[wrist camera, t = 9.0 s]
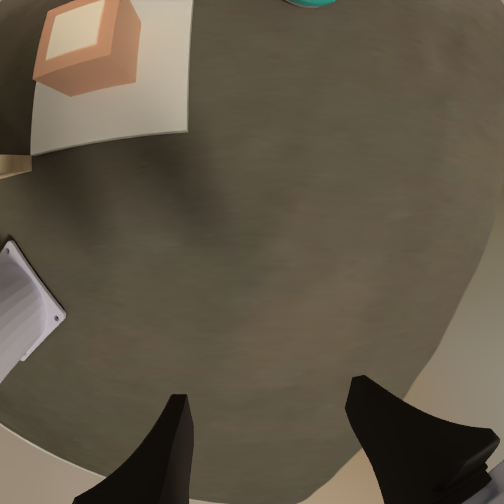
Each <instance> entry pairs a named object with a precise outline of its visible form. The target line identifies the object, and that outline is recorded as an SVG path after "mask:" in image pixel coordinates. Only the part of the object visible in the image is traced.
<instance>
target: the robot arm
mask: <svg viewBox="0 0 504 504" xmlns="http://www.w3.org/2000/svg"><path fill="white" fill-rule="evenodd" d="M8 249H9V251H8ZM56 316H57V317H58V318H59V319H58V318H57V317H56ZM65 317H66V313H65V311H64V310H63V309H62V307H61V306H60V305H59V304H58V303H57V301H56V300H55V299H54V298H53V296H52V295H51V294H50V292H49V291H48V290H47V288H46V287H45V286H44V284H43V283H42V282H41V280H40V279H39V278H38V276H37V275H36V274H35V272H34V271H33V269H32V268H31V266H30V265H29V263H28V262H27V261H26V259H25V258H24V256H23V255H22V253H21V251H20V250H19V248H18V247H17V245H16V244H15V242H14V241H13V240H10V241H8V242H7V243H6V245H5V246H4V248H3V250H2V251H1V253H0V383H1V382H2V380H3V379H4V378H5V377H6V376H7V374H8V373H9V372H10V371H11V370H12V368H13V367H14V366H15V365H16V364H17V362H18V361H19V360H21V361H24V360H25V359H26V358H27V357H28V356H29V355H30V354H31V353H32V352H33V351H34V350H35V349H36V347H37V346H38V345H39V344H40V343H41V342H42V341H43V340H44V339H45V338H46V337H47V336H48V335H49V334H50V333H51V332H52V331H53V330H54V329H55V328H56V327H57V326H58V325H59V324H60V323H61V322H62V321H63V320H64V319H65ZM345 410H346V413H347V416H348V419H349V422H350V425H351V427H352V429H353V431H354V433H355V435H356V436H357V438H358V440H359V442H360V444H361V446H362V448H363V449H364V451H365V453H366V455H367V457H368V458H369V461H370V463H371V465H372V467H373V470H374V472H375V475H376V478H377V480H378V484H379V487H380V490H381V493H382V496H383V500H384V504H504V460H503V461H502V462H501V463H499V464H498V465H497V466H496V467H495V468H493V469H492V470H491V471H490V472H489V473H487V472H486V469H487V468H488V466H487V464H486V463H485V462H486V461H487V459H488V458H489V457H490V456H491V455H492V453H493V452H494V451H495V449H496V448H497V447H498V445H499V443H500V438H499V437H498V436H497V435H496V434H495V433H494V432H493V431H492V429H490V428H478V427H470V426H464V425H460V424H456V423H452V422H449V421H446V420H442V419H440V418H437V417H434V416H432V415H429V414H427V413H425V412H423V411H421V410H419V409H417V408H415V407H413V406H411V405H409V404H407V403H406V402H404V401H403V400H401V399H399V398H398V397H396V396H395V395H393V394H392V393H390V392H389V391H387V390H386V389H384V388H383V387H381V386H380V385H378V384H377V383H376V382H374V381H373V380H371V379H370V378H368V377H367V376H365V375H362V376H357V377H352V381H351V386H350V390H349V394H348V398H347V402H346V405H345ZM193 446H194V425H193V421H192V416H191V412H190V407H189V402H188V397H187V394H172V395H171V396H170V398H169V400H168V402H167V404H166V406H165V408H164V410H163V412H162V413H161V415H160V417H159V418H158V420H157V422H156V423H155V425H154V426H153V428H152V429H151V431H150V432H149V434H148V435H147V436H146V438H145V439H144V440H143V442H142V443H141V444H140V446H139V447H138V448H137V449H136V450H135V452H134V453H133V454H132V455H131V456H130V457H129V458H128V459H127V460H126V461H125V462H124V463H123V464H122V465H121V466H120V467H119V468H118V469H117V470H115V471H114V472H113V473H112V474H111V475H109V476H108V477H107V478H105V479H104V480H103V481H101V482H100V483H99V484H97V485H96V486H94V487H93V488H91V489H89V490H88V491H86V492H84V493H82V494H81V495H79V496H77V497H75V498H74V501H73V503H72V504H189V482H190V473H191V464H192V455H193Z"/></svg>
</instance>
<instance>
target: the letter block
mask: <svg viewBox="0 0 504 504" xmlns="http://www.w3.org/2000/svg"><path fill="white" fill-rule="evenodd" d="M140 31H141V21H140V19H139V17H138V15H137V13H136V11H135V9H134V7H133V5H132V3H131V1H130V0H75V1H72V2H70V3H67V4H64V5H62V6H59V7H57V8H55V9H52V10H50V11H48V13H47V17H46V20H45V24H44V27H43V31H42V35H41V39H40V43H39V47H38V52H37V57H36V62H35V67H34V73H33V80H35V81H37V82H40V83H42V84H44V85H46V86H48V87H50V88H53V89H55V90H57V91H59V92H61V93H63V94H65V95H67V96H69V97H72V96H76V95H80V94H84V93H88V92H92V91H96V90H100V89H105V88H109V87H114V86H119V85H125V84H130V83H136V73H137V60H138V49H139V39H140Z"/></svg>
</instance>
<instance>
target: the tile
mask: <svg viewBox="0 0 504 504" xmlns="http://www.w3.org/2000/svg"><path fill="white" fill-rule="evenodd" d="M130 1H131V3H132V5H133V7H134V9H135V11H136V13H137V15H138V17H139V19H140V21H141V31H140V39H139V49H138V60H137V73H136V83H130V84H125V85H119V86H114V87H109V88H105V89H100V90H96V91H92V92H88V93H84V94H80V95H76V96H72V97H69V96H67V95H65V94H63V93H61V92H59V91H57V90H55V89H53V88H50V87H48V86H46V85H44V84H42V83H40V82H37V81H36V87H35V95H34V103H33V113H32V127H31V153H30V155H35V156H36V155H40V154H45V153H49V152H53V151H57V150H62V149H67V148H72V147H77V146H82V145H87V144H93V143H99V142H105V141H111V140H118V139H125V138H133V137H141V136H150V135H160V134H172V133H185V132H188V101H189V67H190V46H191V30H192V16H193V4H194V0H130Z"/></svg>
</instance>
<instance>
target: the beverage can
mask: <svg viewBox="0 0 504 504" xmlns="http://www.w3.org/2000/svg"><path fill="white" fill-rule="evenodd" d="M285 1H287V2H289V3H291V4H293V5H296V6H300V7H305V8H317V7H321V6H324V5H327V4H329V3H332V2H334V1H336V0H285Z"/></svg>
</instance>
